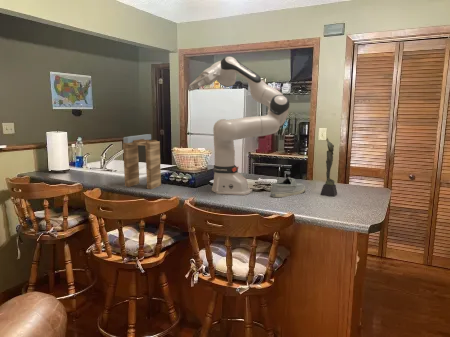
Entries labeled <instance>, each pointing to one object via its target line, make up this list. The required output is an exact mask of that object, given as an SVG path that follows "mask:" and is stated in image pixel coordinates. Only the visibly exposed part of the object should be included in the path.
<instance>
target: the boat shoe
mask: <svg viewBox="0 0 450 337" xmlns="http://www.w3.org/2000/svg"><path fill="white" fill-rule="evenodd" d="M304 192H306V186H305V184H303V183H302V182H297V181H296V179H295V178H293V177H286V178H284V179H283V181H280V182H272V183H271V187H270V197H274V198H285V197H289V196H296V195H300V194H303V193H304Z"/></svg>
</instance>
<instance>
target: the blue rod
mask: <svg viewBox="0 0 450 337" xmlns="http://www.w3.org/2000/svg"><path fill="white" fill-rule="evenodd" d="M140 139H144V140H149V141H151V140H152V134H151V133H149V134H148V133H147V134H140V135H139V134H138V135H137V134H136V135H130V136H124V137H123V139H122V140H123V142H124V143H131V142H133V140H140Z"/></svg>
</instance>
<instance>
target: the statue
mask: <svg viewBox="0 0 450 337" xmlns="http://www.w3.org/2000/svg"><path fill="white" fill-rule="evenodd" d="M325 141H326V143H327V144H326V146H327V149H328V150H327V151H326V160H325V164H326V165H325V167H326V181H325V183H324V184H323V185H322V188H321V191H320V196H324V197H332V198H333V197H336V196H337V195H338V190H337V186H336V185H337V184H335V180H333V179H331V176H330V175H331V169H332V165H333V161H334V156H333V155H334V150H335V149H334V148H335V144H333V143H332V142H330V140H329V139H328V137H327V138H326V139H325Z"/></svg>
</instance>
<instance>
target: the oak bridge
mask: <svg viewBox="0 0 450 337" xmlns="http://www.w3.org/2000/svg"><path fill="white" fill-rule="evenodd" d="M160 143H161V141H160V140H159V141H158V140H157V139H153V140H152V139H151V140H144V139H140V140H133V142H131V143H124V141H122V153H123V169H124V172H123V173H124V187H125V186H127V187H128V188H130V187H133V186H136V185H139V184H140V167H139V166H140V164H139V163H140V162H139V146H145V171H146V189H148V190H153V189H156V188H158V187H161V186H162V180H161V178H162V175H161V172H162V171H161V144H160Z"/></svg>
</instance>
